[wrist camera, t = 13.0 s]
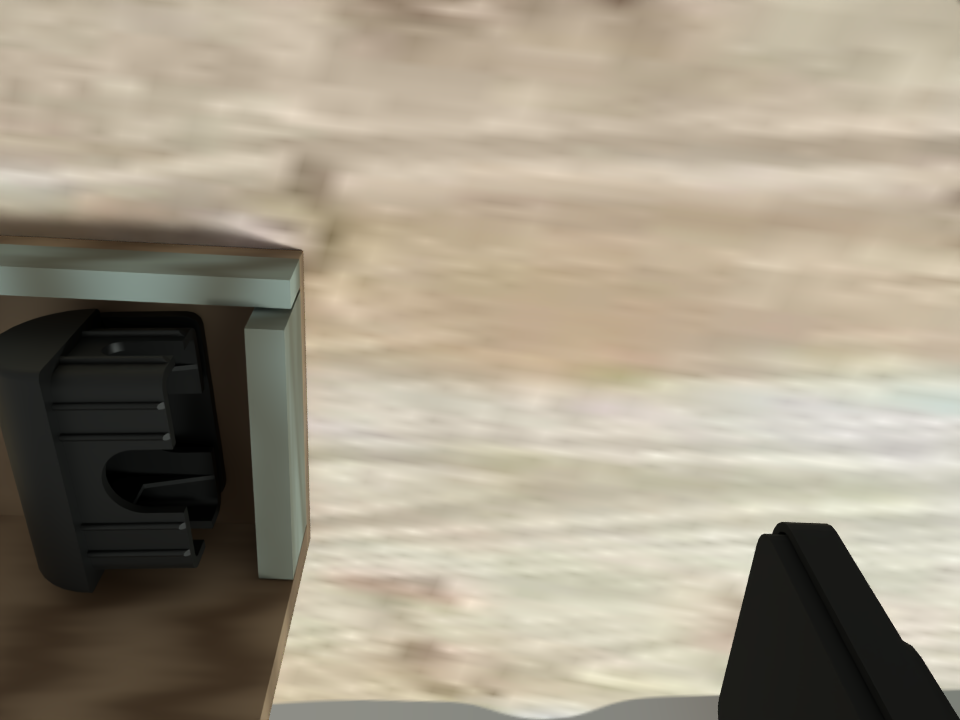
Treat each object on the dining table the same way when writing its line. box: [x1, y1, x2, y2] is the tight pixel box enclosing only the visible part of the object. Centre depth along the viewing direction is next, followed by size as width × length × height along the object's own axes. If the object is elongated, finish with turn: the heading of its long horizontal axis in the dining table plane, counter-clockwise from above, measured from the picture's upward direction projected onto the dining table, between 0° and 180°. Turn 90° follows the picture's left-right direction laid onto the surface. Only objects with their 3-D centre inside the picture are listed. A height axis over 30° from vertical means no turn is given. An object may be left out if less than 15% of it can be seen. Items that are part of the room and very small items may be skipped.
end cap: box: [0, 309, 226, 593], centre depth 37 cm, size 10×7×7 cm
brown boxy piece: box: [0, 235, 310, 720], centre depth 35 cm, size 18×15×13 cm
